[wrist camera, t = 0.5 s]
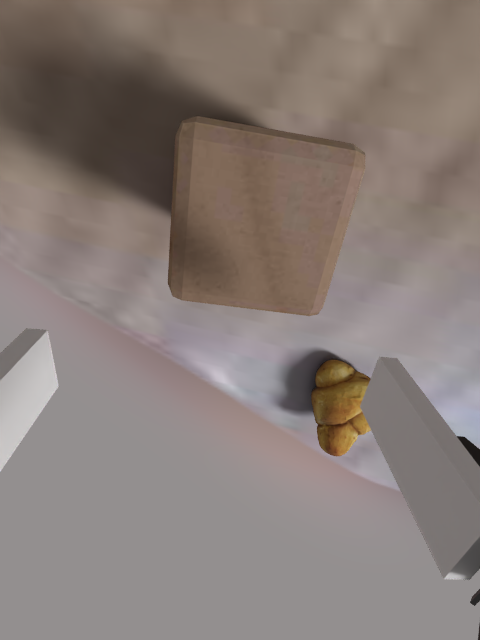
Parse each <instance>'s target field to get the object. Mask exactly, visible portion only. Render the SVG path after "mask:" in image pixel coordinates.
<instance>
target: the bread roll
mask: <svg viewBox="0 0 480 640" xmlns="http://www.w3.org/2000/svg"><path fill="white" fill-rule="evenodd" d="M315 382H316V388H314V389H313V391H312V394H311V401H312V406H313V412H314V416H315V421H316V423H317V424H318V426H317V434H318V440H319V444H320V446H321V448H322V449H323V450H324V451H325V452H326V453H328V454H330V455H333V456H341V455H343V454H345V453H346V452H347V451H348V450H349V449H350V447H351V446H352V445H353V443H354V442H355V441H356V439H357V436H358V435H363V434H365V433H366V432H369V431H371V428H370V426H369V424H368V422H367V420H366V418H365V416H364V414H363V412H362V410H361V408H360V405H361V402H362V400H363V397H364V395H365V392H366V390H367V387H368V384H369V382H370V378H369V377H368V376H366V375H364V374H363V373H360V372H357V371H355V370H354V368H352V367H351V366H350V365H348V364H346V363H344V362H342V361H339V360H329V361H326V362H324V363H323V364H322V365H321V366H320V368H319V369H318V371H317V373H316V377H315Z"/></svg>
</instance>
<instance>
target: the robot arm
mask: <svg viewBox="0 0 480 640" xmlns="http://www.w3.org/2000/svg"><path fill="white" fill-rule="evenodd" d="M57 387H58V381H57V376H56V371H55V365H54V360H53V355H52V350H51V345H50V340H49V334H48V330H40V329H25V330H24V331H23V332H22V333H21V334H20V335H19V336H18V337H17V338H16V339H15V340H14V341H13V342H12V343H11V344H10V345H9V346H7V347H6V348H5V349H4V350H3V351H2V352H1V353H0V471H1V470H2V468H3V467H4V466H5V464H6V463H7V461H8V460H9V458H10V456H11V455H12V454H13V452H14V451H15V449H16V448H17V446H18V445H19V444H20V442H21V440H22V439H23V438H24V436H25V435H26V433H27V432H28V430H29V429H30V427H31V426H32V424H33V423H34V421H35V420H36V419H37V417H38V416H39V414H40V413H41V411H42V410H43V408H44V407H45V405H46V404H47V402H48V401H49V400H50V398H51V397H52V395H53V394H54V392H55V391H56V389H57ZM360 408H361V410H362V412H363V414H364V416H365V418H366V420H367V422H368V424H369V426H370V428H371V431H372V433H373V435H374V437H375V439H376V441H377V443H378V445H379V447H380V449H381V451H382V453H383V455H384V457H385V459H386V461H387V463H388V465H389V468H390V470H391V472H392V474H393V476H394V478H395V480H396V482H397V484H398V486H399V488H400V490H401V492H402V494H403V496H404V498H405V500H406V502H407V504H408V506H409V509H410V511H411V513H412V515H413V517H414V519H415V521H416V523H417V525H418V527H419V529H420V531H421V533H422V535H423V537H424V539H425V541H426V544H427V545H428V548H429V550H430V552H431V554H432V556H433V558H434V560H435V562H436V564H437V566H438V568H439V570H440V572H441V574H442V576H443V578H444V579H471V577H472V576H473V575H474V574H475V573H476V572H477V571H478V570H479V569H480V449H479V448H477V447H476V446H475V445H474V444H473V443H471V442H470V441H469V440H468V439H466V438H465V437H459V436H456V435H455V434H454V433H453V431H452V430H451V429H450V427H449V426H448V425H447V423H446V422H445V421H444V419H443V418H442V417H441V415H440V414H439V413H438V411H437V410H436V409H435V408H434V406H433V405H432V404H431V402H430V401H429V400H428V398H427V397H426V396H425V394H424V393H423V392H422V390H421V389H420V388H419V387H418V385H417V384H416V383H415V381H414V380H413V379H412V377H411V376H410V375H409V373H408V372H407V371H406V369H405V368H404V367H403V365H402V364H401V363H400V362H399V360H398V359H397V358H387V357H379V359H378V361H377V364H376V367H375V369H374V372H373V374H372V377H371V379H370V382H369V384H368V387H367V390H366V392H365V395H364V397H363V400H362V402H361V405H360ZM479 601H480V589H479V590H478V591H477V592H476V594H474V595H473V597H472V599H471V601H470V603H471V604H473V605H474V606H475V605H476V604H477V603H478V602H479ZM478 636H479V637H478V640H480V626H479V635H478Z"/></svg>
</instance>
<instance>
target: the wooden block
mask: <svg viewBox="0 0 480 640" xmlns="http://www.w3.org/2000/svg"><path fill="white" fill-rule="evenodd" d="M364 171H365V153H364V152H363V151H362V150H360V149H359V148H358V147H356V146H355V145H354V144H351V143H345V142H340V141H334V140H328V139H323V138H317V137H312V136H306V135H301V134H295V133H289V132H284V131H278V130H273V129H267V128H262V127H256V126H250V125H245V124H239V123H234V122H228V121H223V120H217V119H211V118H206V117H200V116H195V117H192V118H188V119H185V120H182V122H181V124H180V126H179V129H178V131H177V133H176V135H175V153H174V173H173V192H172V211H171V231H170V250H169V270H168V285H169V287H170V290H171V293H172V295H173V297H176V298H178V299H180V300H184V301H192V302H200V303H208V304H216V305H225V306H233V307H241V308H249V309H257V310H265V311H273V312H282V313H290V314H298V315H306V316H311V315H316V314H318V313H319V312H320V310H321V309H322V308H323V305H324V302H325V299H326V296H327V292H328V289H329V286H330V283H331V279H332V276H333V273H334V269H335V266H336V263H337V259H338V256H339V253H340V250H341V246H342V243H343V240H344V236H345V233H346V230H347V227H348V223H349V220H350V217H351V213H352V210H353V207H354V204H355V200H356V197H357V194H358V190H359V187H360V184H361V180H362V177H363V174H364Z"/></svg>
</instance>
